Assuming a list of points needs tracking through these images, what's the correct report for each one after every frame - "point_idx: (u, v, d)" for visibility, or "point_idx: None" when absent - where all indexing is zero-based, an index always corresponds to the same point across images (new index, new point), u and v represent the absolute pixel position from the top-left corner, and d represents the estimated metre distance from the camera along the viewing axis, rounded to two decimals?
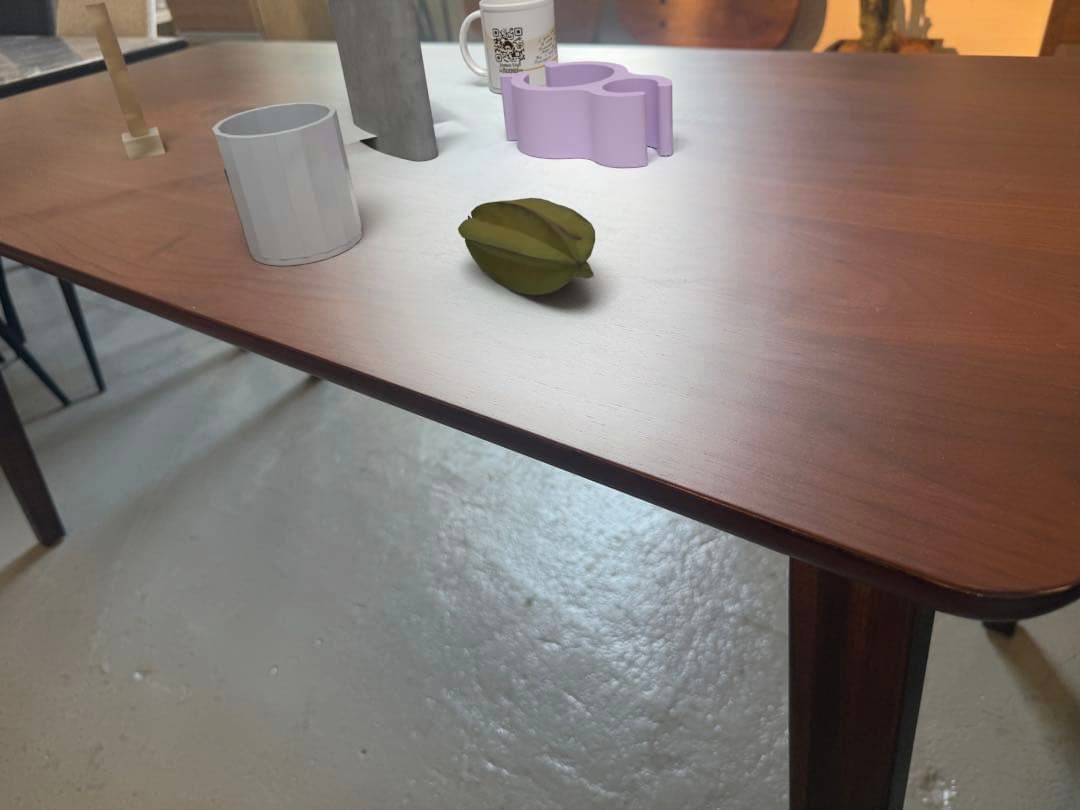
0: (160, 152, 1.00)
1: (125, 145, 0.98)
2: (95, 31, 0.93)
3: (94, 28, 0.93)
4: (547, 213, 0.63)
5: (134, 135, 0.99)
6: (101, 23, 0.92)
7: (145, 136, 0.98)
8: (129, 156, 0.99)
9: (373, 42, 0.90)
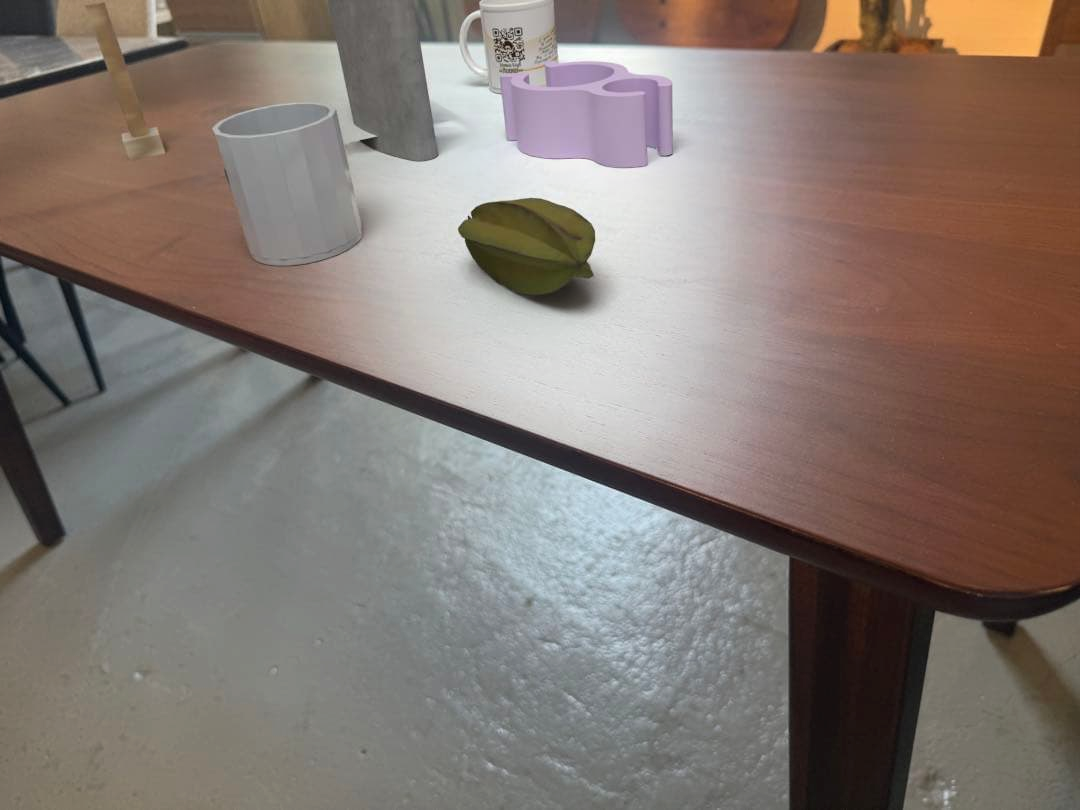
0: (160, 152, 1.00)
1: (125, 145, 0.98)
2: (95, 31, 0.93)
3: (94, 28, 0.93)
4: (547, 213, 0.63)
5: (134, 135, 0.99)
6: (101, 23, 0.92)
7: (145, 136, 0.98)
8: (129, 156, 0.99)
9: (373, 42, 0.90)
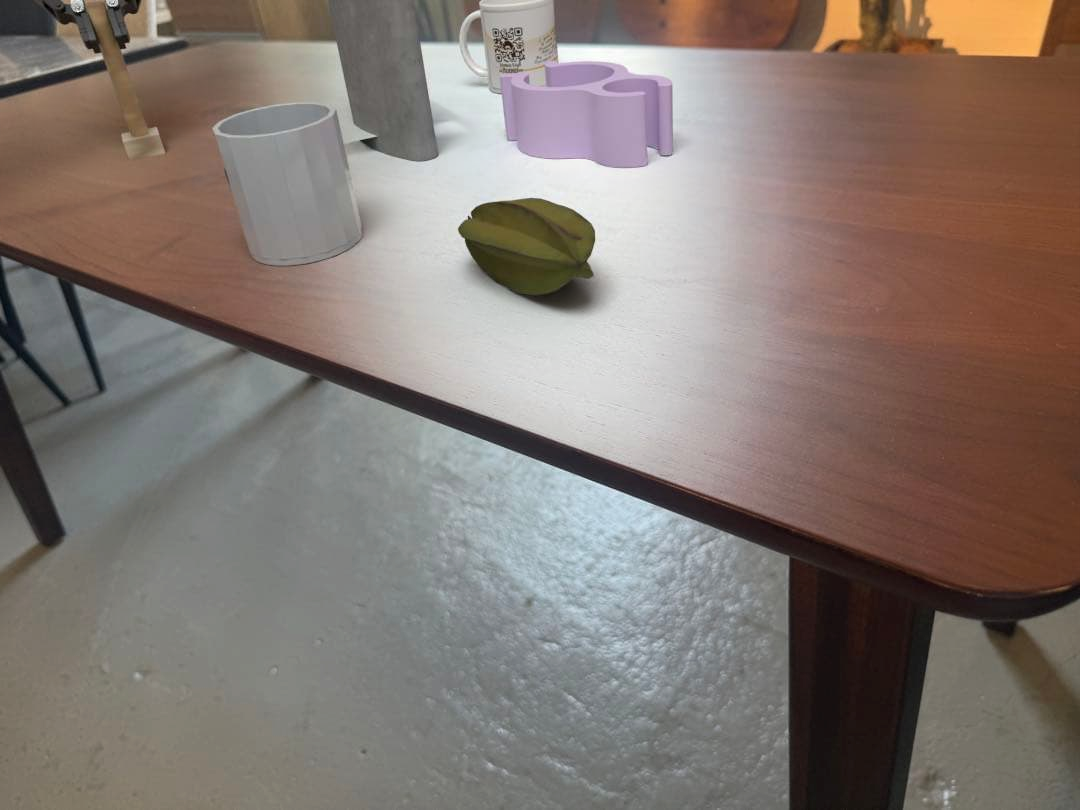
0: (160, 152, 1.00)
1: (125, 145, 0.98)
2: (95, 31, 0.93)
3: (94, 28, 0.93)
4: (547, 213, 0.63)
5: (134, 135, 0.99)
6: (101, 23, 0.92)
7: (145, 136, 0.98)
8: (129, 156, 0.99)
9: (373, 42, 0.90)
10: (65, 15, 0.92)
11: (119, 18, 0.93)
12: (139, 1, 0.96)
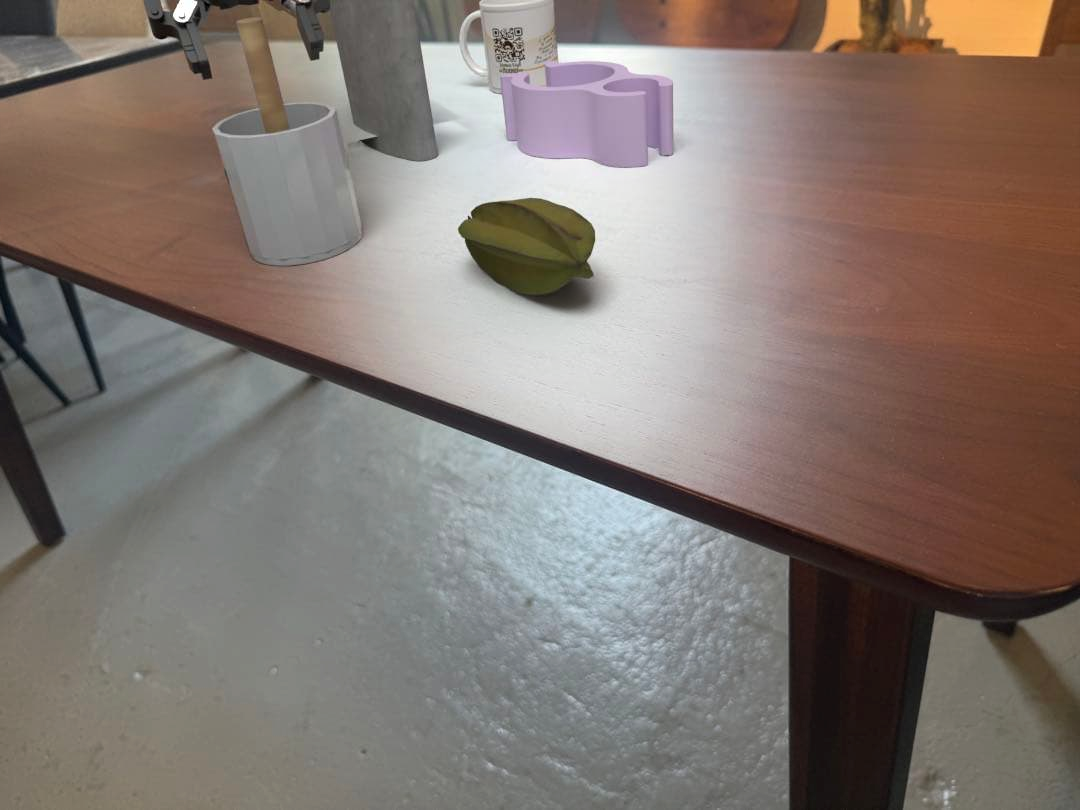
0: None
1: None
2: (248, 58, 0.68)
3: (247, 54, 0.68)
4: (547, 213, 0.63)
5: None
6: (257, 48, 0.67)
7: None
8: None
9: (373, 42, 0.90)
10: (164, 27, 0.66)
11: (312, 18, 0.69)
12: None
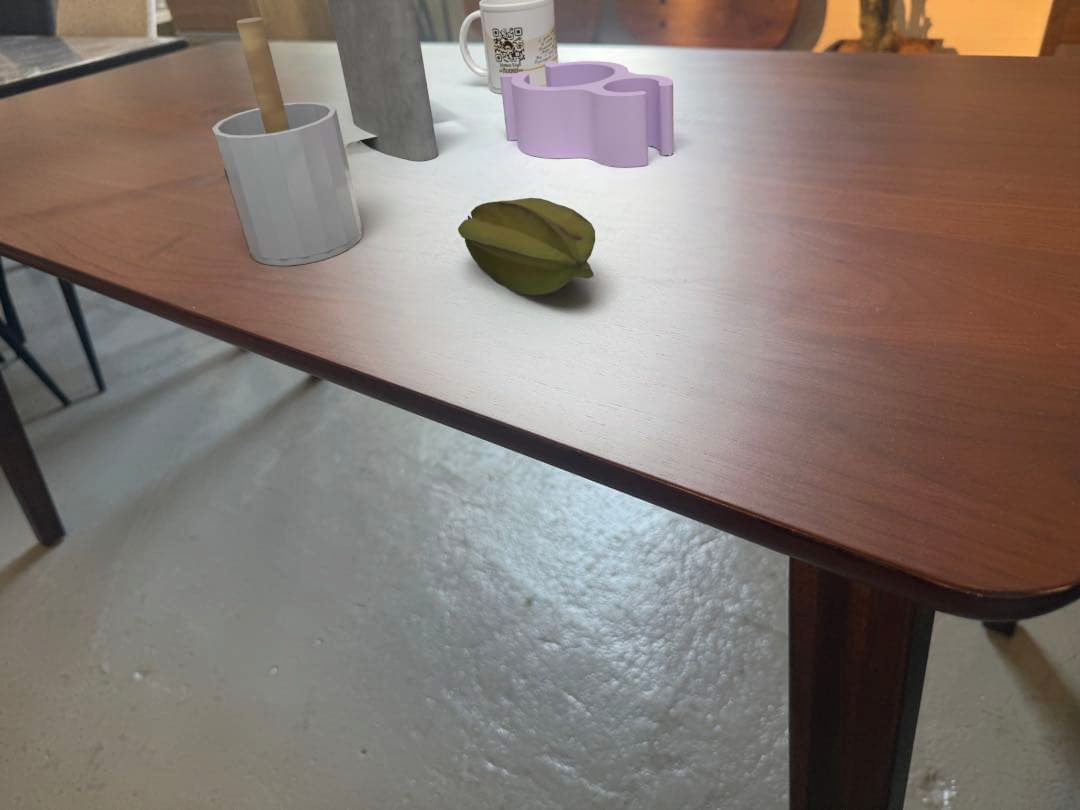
0: None
1: None
2: (248, 58, 0.68)
3: (247, 54, 0.68)
4: (547, 213, 0.63)
5: None
6: (257, 47, 0.67)
7: None
8: None
9: (373, 42, 0.90)
10: None
11: None
12: None
